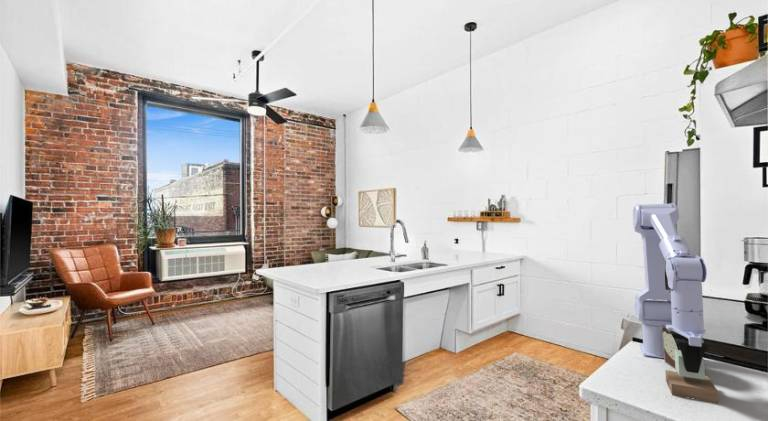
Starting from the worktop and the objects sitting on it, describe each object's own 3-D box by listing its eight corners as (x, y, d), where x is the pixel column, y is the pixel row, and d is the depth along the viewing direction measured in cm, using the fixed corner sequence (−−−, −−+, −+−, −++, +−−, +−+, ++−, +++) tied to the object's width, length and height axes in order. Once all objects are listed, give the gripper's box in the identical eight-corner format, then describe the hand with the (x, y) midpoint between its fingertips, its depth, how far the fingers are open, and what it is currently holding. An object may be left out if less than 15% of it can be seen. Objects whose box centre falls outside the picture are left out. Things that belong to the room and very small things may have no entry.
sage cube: (675, 368, 87) (674, 349, 87) (699, 371, 85) (698, 352, 85) (679, 375, 84) (678, 356, 84) (704, 379, 81) (703, 359, 81)
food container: (718, 381, 89) (716, 340, 89) (689, 379, 90) (687, 339, 90) (687, 361, 101) (685, 325, 101) (661, 360, 102) (660, 324, 102)
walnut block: (666, 382, 90) (665, 370, 90) (708, 389, 86) (707, 376, 86) (672, 396, 83) (671, 383, 83) (718, 405, 79) (718, 391, 79)
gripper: (660, 300, 93) (662, 354, 93) (670, 314, 80) (673, 376, 80) (696, 303, 89) (698, 358, 89) (713, 318, 77) (716, 383, 77)
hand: (689, 367), depth 84 cm, fingers closed on sage cube, 4 cm apart
